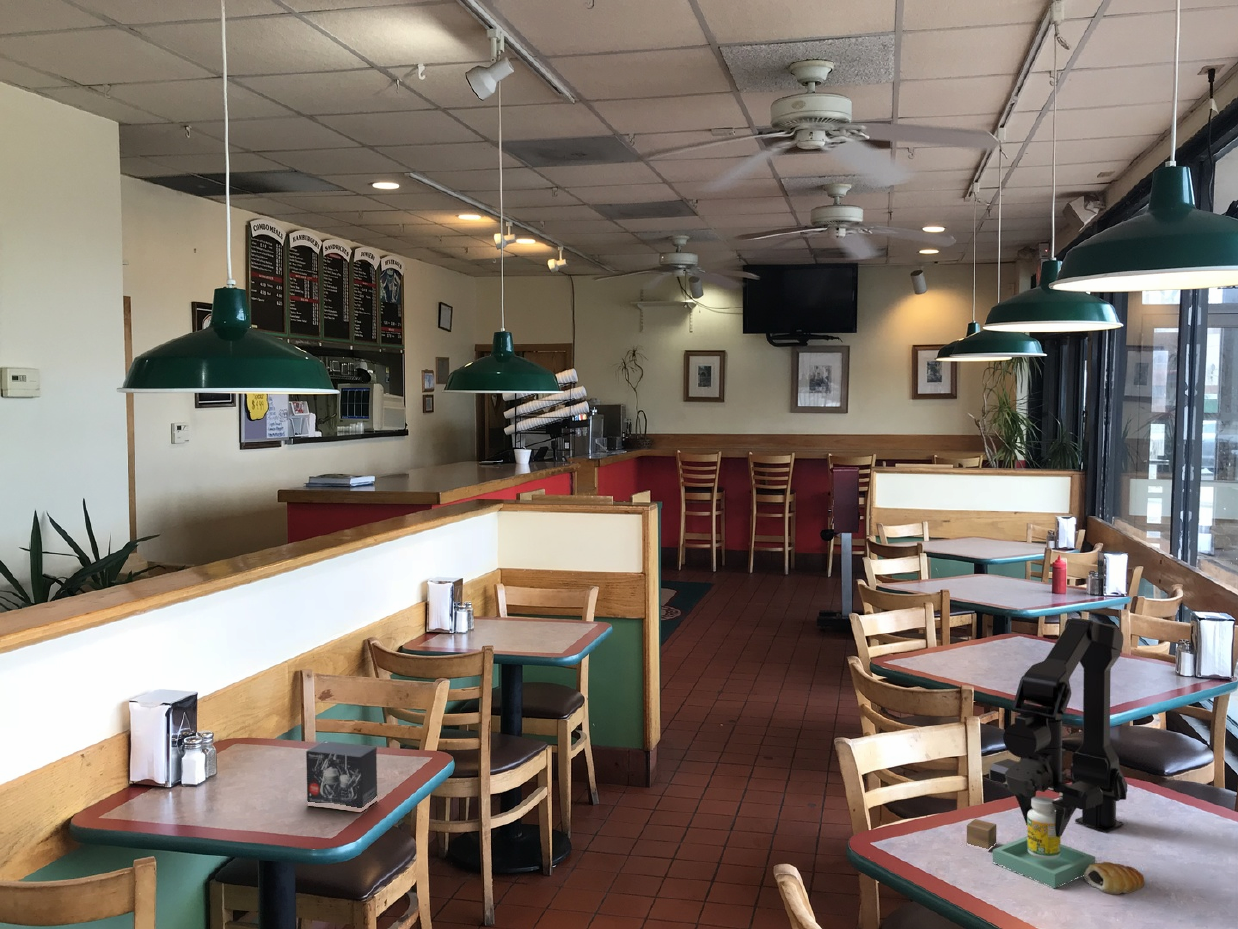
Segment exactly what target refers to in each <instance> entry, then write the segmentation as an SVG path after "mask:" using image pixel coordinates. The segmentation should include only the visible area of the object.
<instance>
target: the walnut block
mask: <svg viewBox="0 0 1238 929" xmlns="http://www.w3.org/2000/svg"><path fill="white" fill-rule="evenodd" d="M967 843H968V844H971V845H974V846H979V847H982V848H986V849H989V848H990V847H991V846H994V844H995V843H996V844H997V824H996V823H993V822H989V821H985V820H981V819H978V818H974V819H973V820H972V821H970V822H969V823H968V824H966V844H967Z"/></svg>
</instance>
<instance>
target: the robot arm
mask: <svg viewBox="0 0 1238 929" xmlns="http://www.w3.org/2000/svg"><path fill="white" fill-rule="evenodd" d="M1123 646H1124V634H1123V632H1122V631H1121V630H1119V629H1118V627H1117V625H1116V624H1109V623H1101V622H1097V621H1095V620H1094V619H1093V620H1092V619H1087V618H1086V619H1085V618H1080V617H1079V618H1078V617H1071V618H1067V619H1066V620H1065V624H1064V630H1063V631H1062V632H1061V634H1060V636H1059V637H1058V639H1057V640H1056V642H1055V644H1054V645H1053V646H1052V647H1051V650H1050V651H1049V653H1048V655H1047V656H1046V657H1045V659H1044V660H1043V661H1042V660H1041V661H1039V662H1037V663H1034V664H1033V665H1031V666H1030V667H1029V669H1027V671H1025V672H1024V674H1023V675H1022V676H1021V678H1020V680H1019V682H1018V687H1017V689H1016V694H1015V697H1014V701H1013V704H1012V707H1011V711H1012V712H1013V713H1018V715H1016V716H1015V717H1014V722H1013V723H1011V724H1009V725H1008V726H1007V727H1006V728H1005V730H1004V733H1003V734H1002V735H1003V736H1002V738H1003V744H1004V746H1005V748H1006V750H1007V751H1008V752H1009V753H1010V754H1011V755H1013V756H1015V757H1017V758H1020V759H1019V761H1017V760H1013V759H1011V758H1006V759H1003V760H1000V761H996V762H994V763H992V764H991V765H990V766H989V770H988V772H989V774H988V776H989V778H988V779H990V780H991V781H993V782H996V783H1000V784H1003V787H1004V788H1005V789H1006V790H1008V791H1010V793H1012V794H1013V795H1014V796H1015V798H1016V801H1017V803H1018V805H1019V807H1020V812H1021V813H1022V816H1023V819H1024V820H1023V821H1024V822H1025V824H1026V825H1025V826H1027V814H1028V811H1029V810H1030V809H1032V806H1031V799H1032V798H1033V797H1037V796H1036V795H1037V792H1038V791H1039V792H1042V793H1044V792H1046V791H1047V790H1048V791H1051V792H1054V793H1055V794H1059V795H1058V796H1059V798H1058V799H1055V801H1053V802H1052V804H1053V805H1054V807H1055V808H1056V810H1055V812H1056V822H1055V830H1056V836H1057V837H1060V838H1061V837H1062V836H1063V834H1064V832H1065V830H1066V828H1067V827H1068V824H1069V823H1070V820H1071V818H1072V816H1073V815H1074V813H1075V812H1076V810H1077V809H1078V810H1082V811H1081V813H1082V814H1081V816H1080V817H1078V818H1075V819H1074V821H1075V823H1077V824H1080V825H1082V826H1085V827H1087V828H1091V829H1095V831H1100V832H1103V833H1109V832H1111V831H1113V830H1114V831H1115V830H1116V829H1119V828H1121V827H1123V826H1124V825H1125V824H1124V822H1123V821H1120V820H1117V802H1119V801H1121V800H1123V801H1124V800H1127V793H1128V782H1127V780H1126V778H1125V777H1124V776H1125V775H1124V774H1123V772H1122V770H1121V769H1120V759H1119V756H1118V755H1117V753H1116V751H1115V750H1114V748H1113V746H1112V745H1111V742H1110V741H1111V739H1110V738H1111V737H1110V736H1111V732H1110V731H1111V673H1112V672H1111V670H1112V667H1113V666H1114V665H1115V663H1116V662H1117V661H1118V659H1119V658H1120V656H1121V650H1122V649H1123ZM1079 663H1080V665H1081V667H1082V668H1083V685H1082V686H1083V688H1082V689H1083V691H1082V692H1083V694H1082V695H1083V700H1082V701H1083V702H1082V743H1081V745H1080V746H1079V747H1078V749H1077V750H1076V751H1075V752H1074V753H1073V754H1072V755H1071V757H1072V762H1071V765H1070V779H1071V784H1069V783H1065V782H1063V780H1066V779H1067V772H1065V771H1063V757H1066V756H1067V749H1065V748H1063V716H1064V715H1065V714H1066V711H1067V707H1068V705H1069V702H1070V699H1071V696H1072V689H1071V683H1070V679H1071V676H1072V675H1073V673H1074V671H1075V670H1076V669H1077V666H1078V664H1079ZM1025 702H1026V703H1025ZM1004 783H1006V784H1004Z"/></svg>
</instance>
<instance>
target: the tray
mask: <svg viewBox="0 0 1238 929" xmlns="http://www.w3.org/2000/svg"><path fill="white" fill-rule="evenodd" d="M1027 842H1028V841H1027V836H1024V837H1022V838H1019V839H1017V840H1014V841H1012V842H1009V843H1006V844H1004V845H1000V846H999V847H996V848H992V863H993V862H995V863H997V864H999V865H1003V866H1005V867H1006V868H1009V869H1011V870H1012V871H1016V872H1018V873H1020V874H1023V875H1025V876H1027V877H1031V878H1032V879H1035V880H1037V881H1039V882H1041V883H1040V884H1042V883H1045V884H1047V885H1049V886H1051V887H1053V888H1052V889H1054V888H1055V889H1057V888H1056V887H1058V886H1060V885H1062V884H1064V883H1066V884H1068V882H1069V883H1071V882H1072V881H1071V880H1073V881H1075V880H1076V879H1075V878H1077V877H1080V878H1082V877H1084V876H1083V875H1084V872H1086V869H1087V868H1088V867H1089V865H1093V864H1094V863H1096V856H1095V855H1092V854H1089V853H1087V852H1083V851H1081V850H1078V849H1075V848H1073V847H1070V846H1067V845H1065V844H1062V843H1060V856H1059V857H1058V858H1057V859H1053V860H1046V859H1041V858H1037V857H1034V856H1032V855H1031V854H1030V853H1029V852H1028V845H1027ZM1012 871H1011V872H1012ZM1020 874H1019V875H1020ZM1025 876H1024V877H1025ZM1081 876H1082V877H1081ZM1027 877H1026V878H1027ZM1032 879H1031V880H1032ZM1074 879H1075V880H1074ZM1037 881H1036V882H1037ZM1070 881H1071V882H1070ZM1039 882H1038V883H1039ZM1047 885H1046V886H1047ZM1064 885H1065V884H1064ZM1049 886H1048V887H1049ZM1062 886H1063V885H1062ZM1051 887H1050V888H1051ZM1060 887H1061V886H1060ZM1058 888H1059V887H1058Z"/></svg>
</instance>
